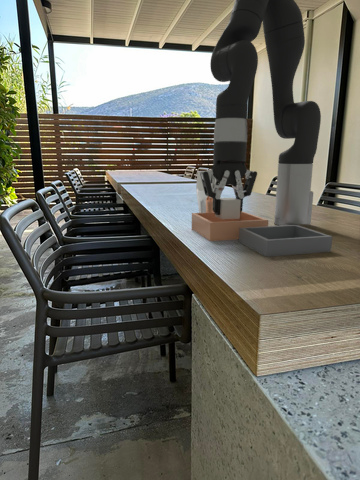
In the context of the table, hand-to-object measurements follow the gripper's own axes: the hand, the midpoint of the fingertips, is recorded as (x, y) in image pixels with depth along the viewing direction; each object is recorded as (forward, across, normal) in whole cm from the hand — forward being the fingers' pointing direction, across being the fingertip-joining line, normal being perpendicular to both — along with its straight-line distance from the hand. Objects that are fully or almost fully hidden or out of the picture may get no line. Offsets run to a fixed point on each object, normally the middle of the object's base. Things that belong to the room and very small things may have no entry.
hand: (227, 213), depth 80 cm
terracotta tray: (+6, 0, 0) cm, 6 cm away
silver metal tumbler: (+6, 0, -14) cm, 15 cm away
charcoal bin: (+6, -6, +15) cm, 17 cm away
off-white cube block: (+1, 0, 0) cm, 1 cm away
